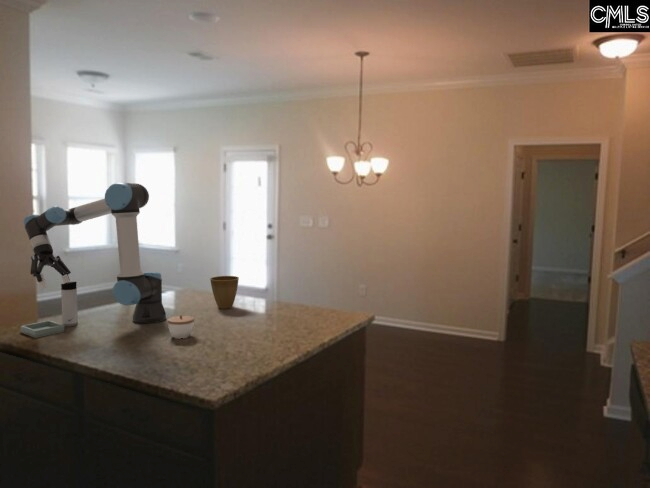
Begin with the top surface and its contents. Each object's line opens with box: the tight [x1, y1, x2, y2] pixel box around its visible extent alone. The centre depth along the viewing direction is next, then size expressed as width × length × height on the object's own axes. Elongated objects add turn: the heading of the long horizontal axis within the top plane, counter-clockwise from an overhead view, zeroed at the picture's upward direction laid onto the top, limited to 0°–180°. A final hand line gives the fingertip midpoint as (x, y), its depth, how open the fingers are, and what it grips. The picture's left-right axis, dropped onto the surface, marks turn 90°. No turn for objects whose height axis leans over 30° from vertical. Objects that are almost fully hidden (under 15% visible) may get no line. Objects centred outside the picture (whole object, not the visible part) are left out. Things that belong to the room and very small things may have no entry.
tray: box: [20, 319, 66, 339], centre depth 210 cm, size 13×12×3 cm
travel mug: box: [60, 281, 79, 328], centre depth 221 cm, size 6×7×20 cm
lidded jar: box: [167, 314, 195, 340], centre depth 206 cm, size 11×11×9 cm
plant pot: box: [209, 275, 239, 310], centre depth 260 cm, size 15×15×16 cm
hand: (57, 288), depth 220 cm, fingers open, 13 cm apart
